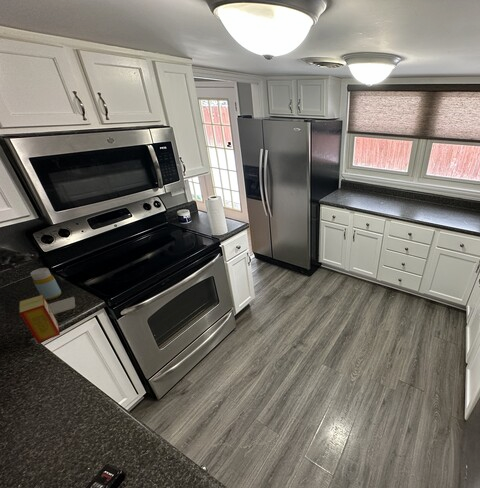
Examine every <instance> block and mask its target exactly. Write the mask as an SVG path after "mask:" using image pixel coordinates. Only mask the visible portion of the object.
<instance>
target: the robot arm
mask: <svg viewBox="0 0 480 488" xmlns="http://www.w3.org/2000/svg"><path fill="white" fill-rule="evenodd" d="M39 258H40V255H39V254H38V252H37V251H33V250H28V251H27V252H26V253H21V252H20V251H18V250H15V249H12V248H9V247H6V248H5V247H2V246H0V271H2V270H5V268H6V269H9V270H10V269H11V270H15V269H16V267H15V265H18V264H19V263H22V262H28V261H31V260H32V261H34V262H38V261H39Z"/></svg>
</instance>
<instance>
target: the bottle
mask: <svg viewBox="0 0 480 488" xmlns="http://www.w3.org/2000/svg"><path fill="white" fill-rule="evenodd" d="M30 276H31V278H32V280H33V285H34V286H35V288H36V289H37V291H38V294H39V295H42V294H43V296H44V298H45V300H46V301H51V300H55V299H57V298H59V297H60V296H61V295H62V290H61V288H60V286H59V284H58V283H57V280H56V279H55V277H54V275H53V274H52V273H51V271H50V270H49V268H47V267H41V268H37V269H34V270H32V271H31V272H30Z"/></svg>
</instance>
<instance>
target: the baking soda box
mask: <svg viewBox="0 0 480 488" xmlns="http://www.w3.org/2000/svg"><path fill="white" fill-rule="evenodd" d="M48 304H49V303H48V302H47V300H45V298H44V296H43V294H42V295H40V294H39V295H35V296H32V297H29V298H26V299H22V300H19V315H20V316H21V318H22V320H23V321H24V323H25V324H26V326H27V327H28V329H29V331H30V332H31V334H32V336H33V337H34V340H36V342H37V344H40V343H43V342H45V341H48V340H50V339H53V338H55V337H57V336H61V331H60V326H59V322H58V320H57V319H56V317H55V315H53V313H52V311H51V309H50V307H49V305H48Z"/></svg>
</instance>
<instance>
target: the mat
mask: <svg viewBox="0 0 480 488" xmlns="http://www.w3.org/2000/svg"><path fill="white" fill-rule="evenodd" d="M47 304H48V305H49V307H50V309H51V311H52V313H53V315H54V316H55V315H57V314H60V313H64V312H67V311H70V310H74V309H76V299H75V296H71V297H68V298H64V299H61V300H58V301H54V302H51V303H47Z"/></svg>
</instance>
